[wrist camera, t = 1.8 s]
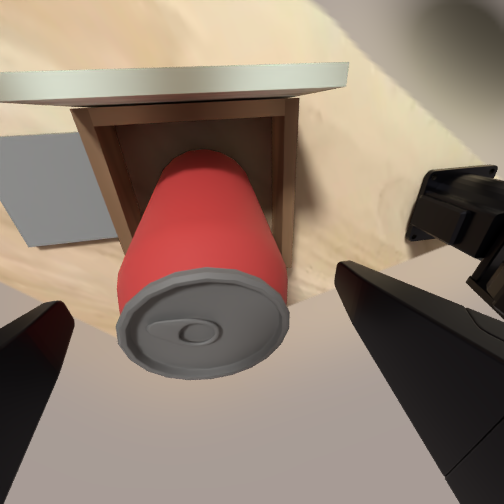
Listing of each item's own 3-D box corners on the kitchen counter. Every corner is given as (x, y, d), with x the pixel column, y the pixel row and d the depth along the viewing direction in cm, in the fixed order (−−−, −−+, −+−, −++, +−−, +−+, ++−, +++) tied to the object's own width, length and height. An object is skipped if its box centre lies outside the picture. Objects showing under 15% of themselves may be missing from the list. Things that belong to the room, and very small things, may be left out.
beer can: (169, 129, 15) (101, 231, 5) (264, 167, 17) (344, 285, 7) (151, 220, 18) (90, 386, 8) (233, 241, 20) (259, 389, 11)
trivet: (90, 131, 15) (86, 131, 14) (126, 233, 18) (124, 236, 18) (-30, 138, 14) (-38, 139, 13) (33, 244, 17) (28, 247, 17)
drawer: (284, 85, 15) (349, 62, 8) (280, 249, 21) (316, 313, 14) (89, 93, 14) (-27, 73, 7) (146, 266, 20) (115, 346, 13)
